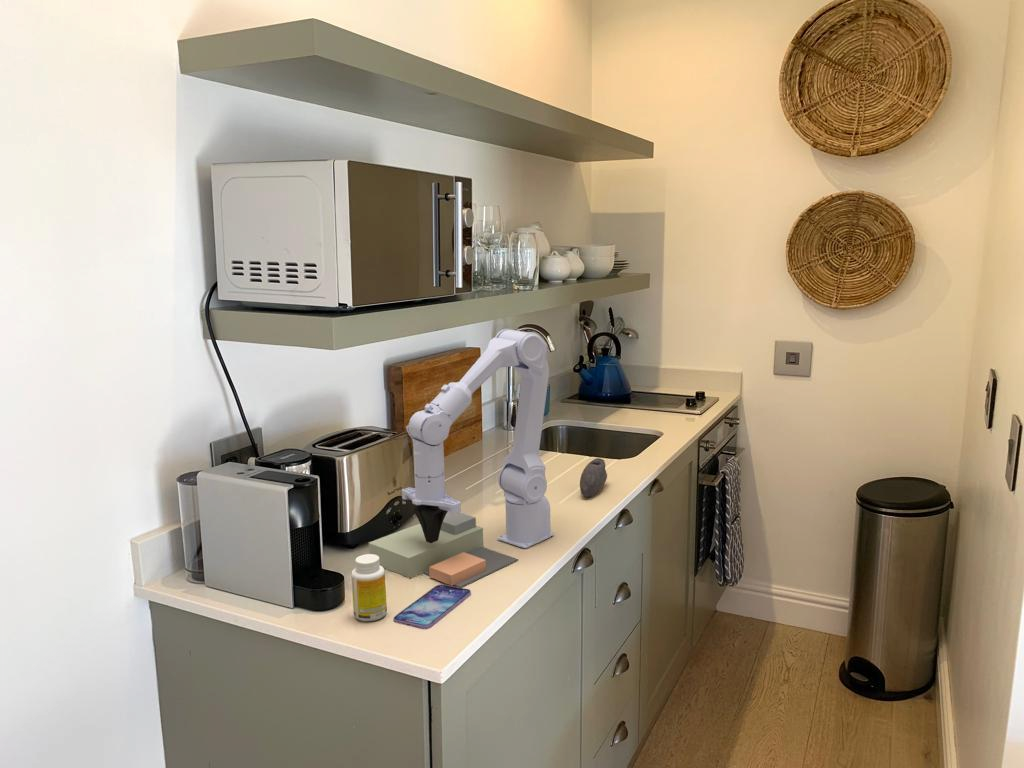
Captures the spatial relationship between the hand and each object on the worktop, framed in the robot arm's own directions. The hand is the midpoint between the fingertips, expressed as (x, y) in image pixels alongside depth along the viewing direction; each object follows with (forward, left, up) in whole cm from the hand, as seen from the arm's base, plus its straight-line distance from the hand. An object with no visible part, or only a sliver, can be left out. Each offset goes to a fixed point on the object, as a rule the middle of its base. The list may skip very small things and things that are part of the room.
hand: (432, 541), depth 154 cm
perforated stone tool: (-55, -2, -5) cm, 56 cm away
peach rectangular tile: (0, +7, -3) cm, 8 cm away
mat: (-4, +7, -5) cm, 9 cm away
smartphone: (+12, +13, -6) cm, 19 cm away
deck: (-3, -5, -5) cm, 8 cm away
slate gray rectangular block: (-10, -5, -1) cm, 11 cm away
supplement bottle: (+21, +7, -5) cm, 23 cm away
